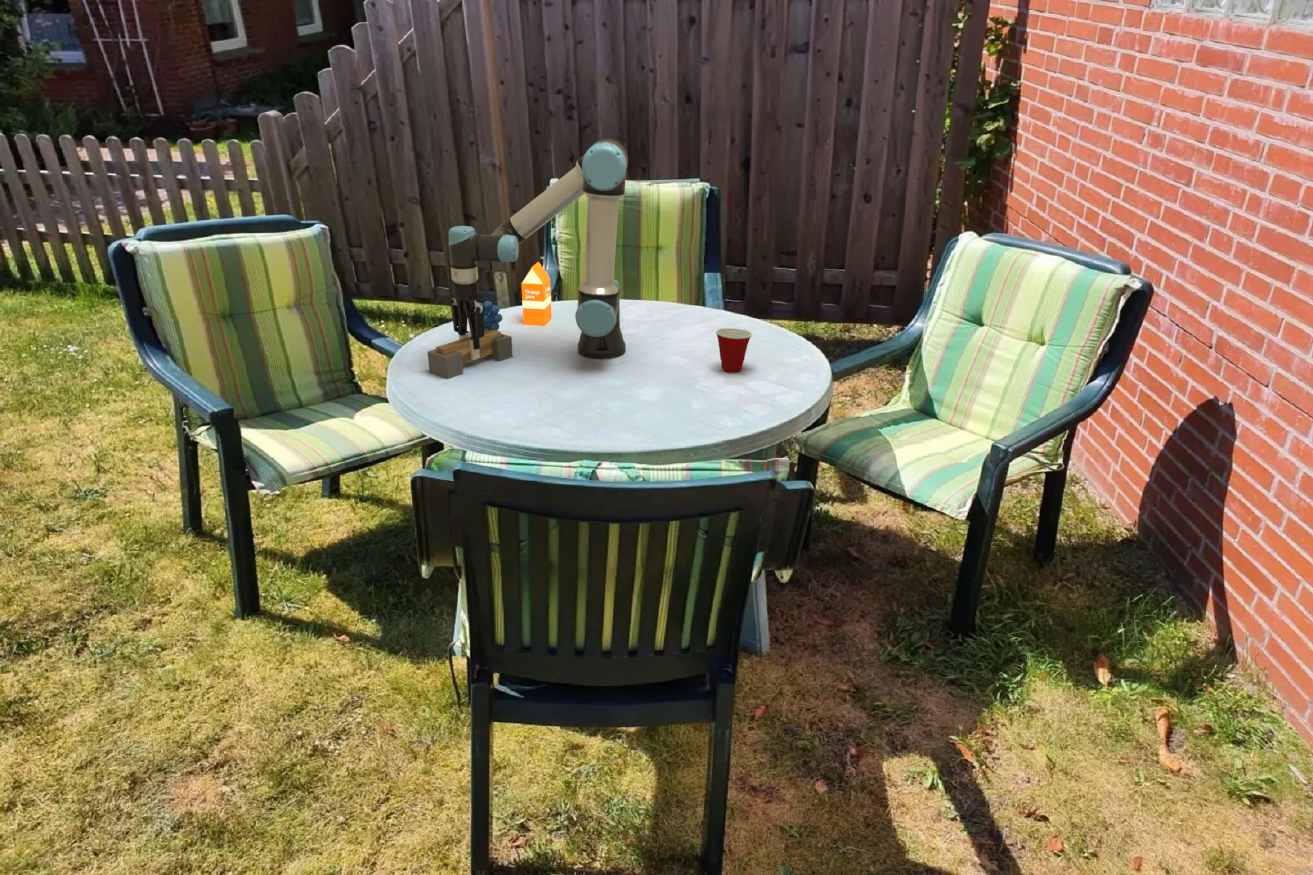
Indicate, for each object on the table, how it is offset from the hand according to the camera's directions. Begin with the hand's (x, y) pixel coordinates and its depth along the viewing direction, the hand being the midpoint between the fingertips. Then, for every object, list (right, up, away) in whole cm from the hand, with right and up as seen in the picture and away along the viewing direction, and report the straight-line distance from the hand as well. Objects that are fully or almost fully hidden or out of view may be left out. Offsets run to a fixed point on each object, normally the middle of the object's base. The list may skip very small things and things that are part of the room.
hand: (470, 357), depth 270 cm
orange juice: (+15, +16, +41) cm, 46 cm away
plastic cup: (+79, -4, -2) cm, 79 cm away
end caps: (0, -2, +1) cm, 2 cm away
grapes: (0, +10, +27) cm, 29 cm away
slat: (0, 0, 0) cm, 0 cm away
